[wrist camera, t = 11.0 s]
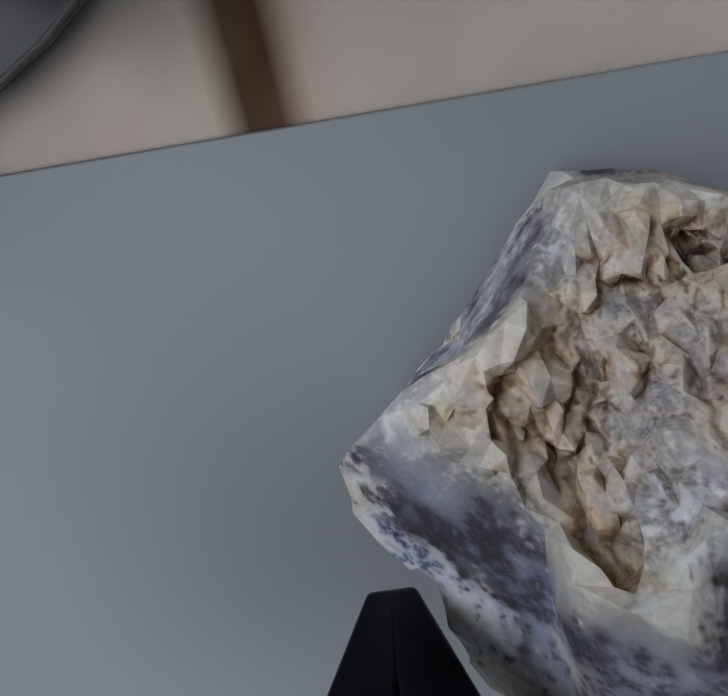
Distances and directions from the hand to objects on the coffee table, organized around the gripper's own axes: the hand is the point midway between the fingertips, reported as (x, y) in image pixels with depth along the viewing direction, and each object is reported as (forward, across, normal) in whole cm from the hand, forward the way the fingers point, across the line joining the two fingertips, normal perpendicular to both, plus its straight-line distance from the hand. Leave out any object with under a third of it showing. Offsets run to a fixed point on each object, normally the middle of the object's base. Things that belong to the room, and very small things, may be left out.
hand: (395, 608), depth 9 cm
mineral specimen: (+3, -4, 0) cm, 4 cm away
